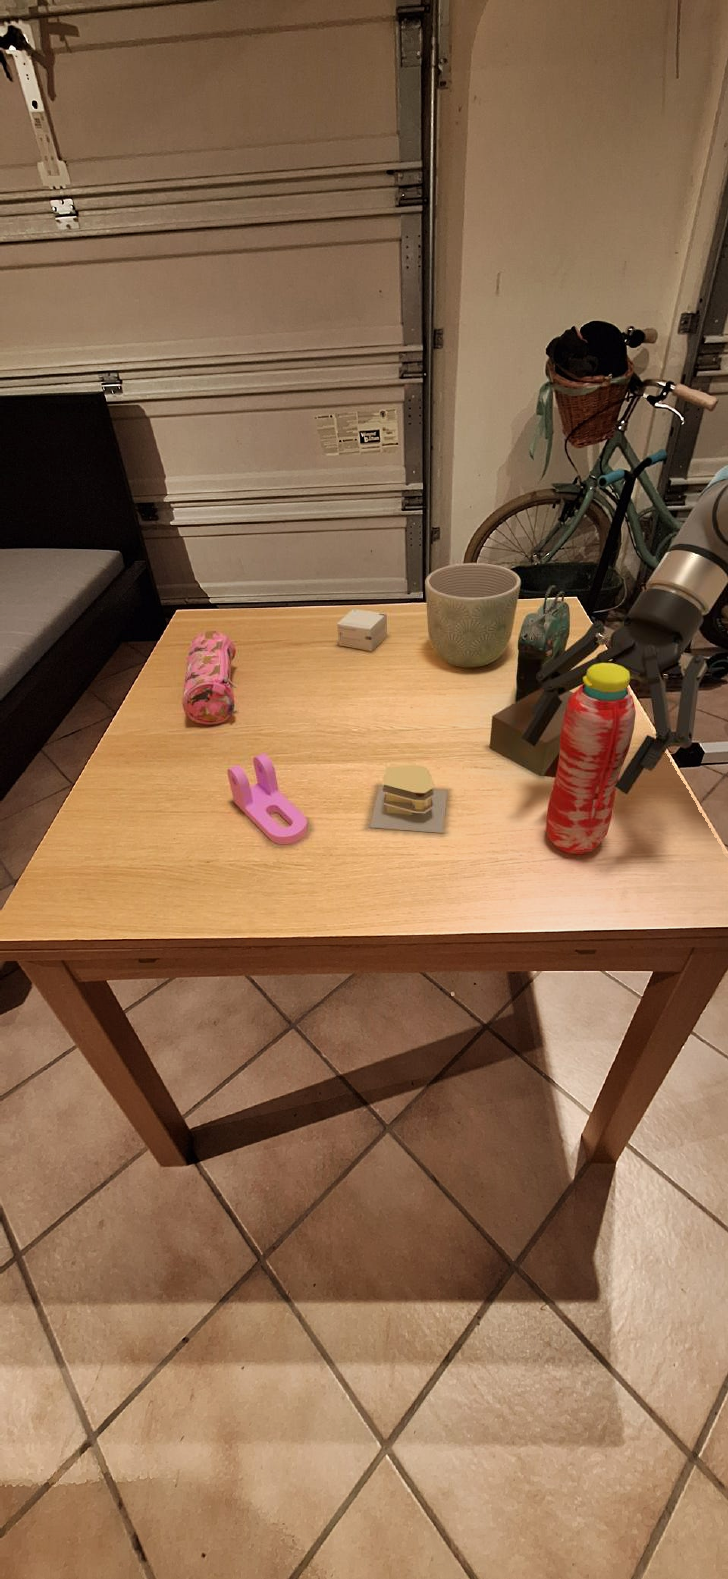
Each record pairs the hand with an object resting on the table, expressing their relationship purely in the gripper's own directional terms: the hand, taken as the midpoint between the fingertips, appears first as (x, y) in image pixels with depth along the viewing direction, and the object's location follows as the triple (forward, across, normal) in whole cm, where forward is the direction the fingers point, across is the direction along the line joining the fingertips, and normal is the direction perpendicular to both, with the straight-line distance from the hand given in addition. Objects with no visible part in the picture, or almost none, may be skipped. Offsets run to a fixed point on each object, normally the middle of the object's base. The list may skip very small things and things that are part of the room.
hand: (571, 765), depth 75 cm
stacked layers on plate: (+16, +18, -2) cm, 24 cm away
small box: (-5, +63, -23) cm, 67 cm away
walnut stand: (-3, +15, -20) cm, 26 cm away
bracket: (+26, +30, +8) cm, 41 cm away
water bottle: (+7, 0, -11) cm, 13 cm away
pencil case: (+19, +66, +1) cm, 68 cm away
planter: (-12, +43, -30) cm, 54 cm away
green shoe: (-11, +26, -29) cm, 40 cm away
